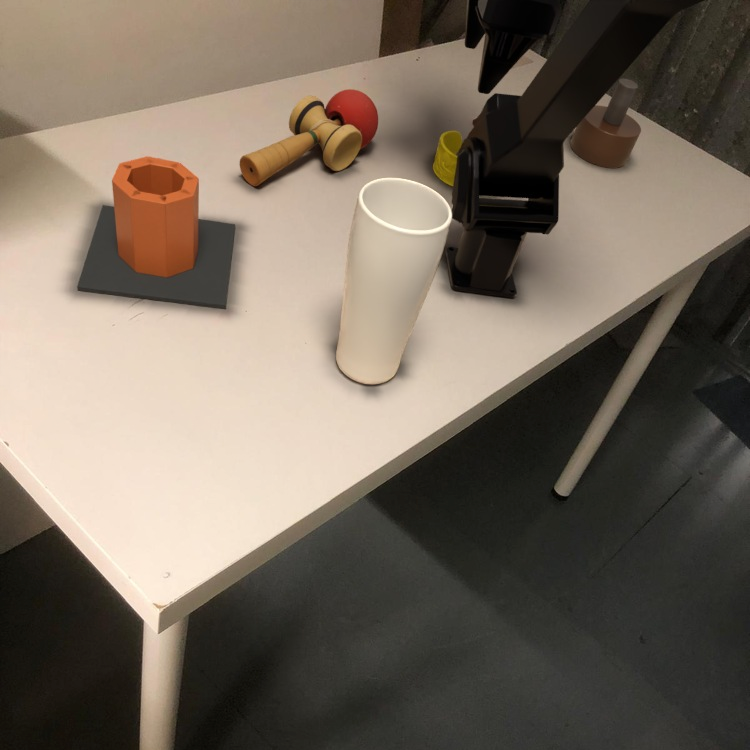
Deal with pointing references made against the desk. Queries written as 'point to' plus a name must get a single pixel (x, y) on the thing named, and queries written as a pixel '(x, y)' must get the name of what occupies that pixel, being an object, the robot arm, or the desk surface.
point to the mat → (188, 287)
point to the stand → (608, 130)
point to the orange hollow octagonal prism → (156, 215)
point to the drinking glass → (388, 273)
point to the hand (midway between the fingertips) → (476, 69)
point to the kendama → (318, 135)
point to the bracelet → (447, 156)
